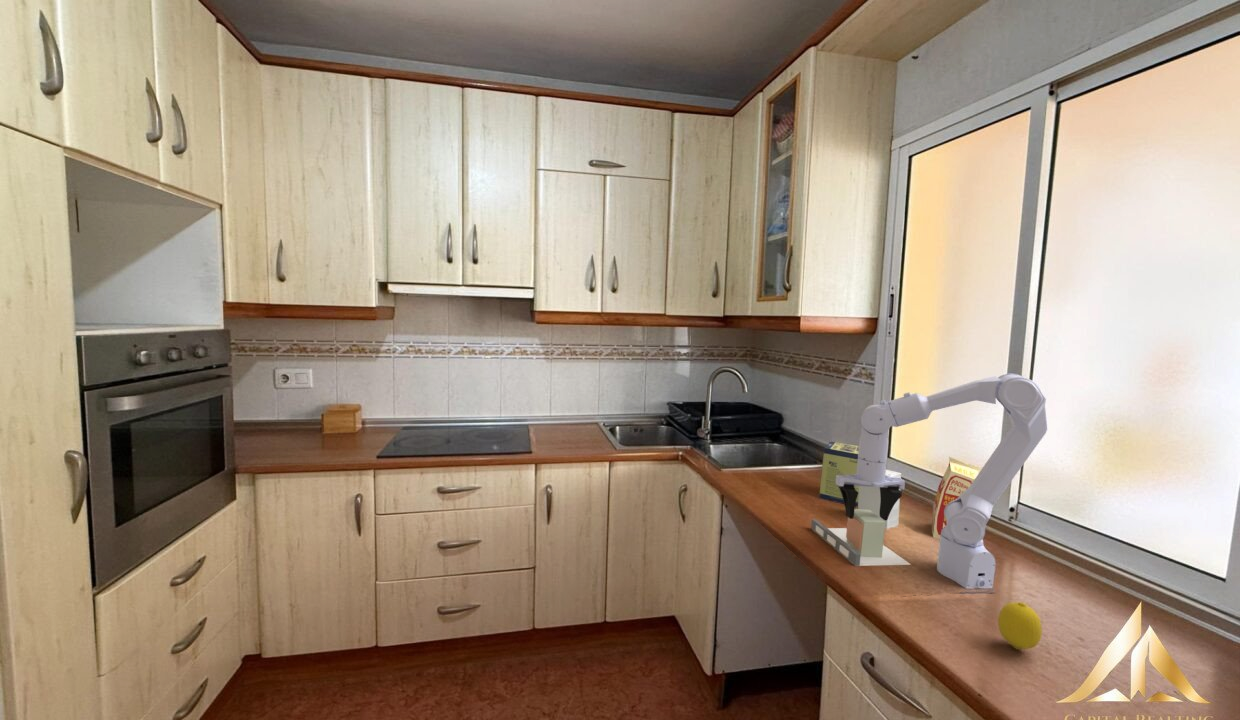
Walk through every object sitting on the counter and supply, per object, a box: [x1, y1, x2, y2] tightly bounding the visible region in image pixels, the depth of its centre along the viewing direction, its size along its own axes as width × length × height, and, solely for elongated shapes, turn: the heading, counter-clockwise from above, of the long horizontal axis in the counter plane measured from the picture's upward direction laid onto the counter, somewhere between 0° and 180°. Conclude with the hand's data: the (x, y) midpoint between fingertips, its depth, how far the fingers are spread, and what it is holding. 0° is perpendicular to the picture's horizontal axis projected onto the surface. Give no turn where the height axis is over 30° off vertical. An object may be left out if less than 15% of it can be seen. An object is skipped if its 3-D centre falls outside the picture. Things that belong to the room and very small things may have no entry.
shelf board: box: [810, 518, 912, 567], centre depth 114 cm, size 18×13×4 cm
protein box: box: [818, 441, 859, 508], centre depth 146 cm, size 10×16×16 cm
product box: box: [846, 508, 886, 558], centre depth 111 cm, size 5×7×8 cm
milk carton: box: [931, 456, 984, 540], centre depth 124 cm, size 9×9×20 cm
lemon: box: [997, 601, 1043, 650], centre depth 81 cm, size 6×6×8 cm
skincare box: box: [857, 469, 902, 530], centre depth 128 cm, size 8×6×15 cm
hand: (866, 517), depth 111 cm, fingers open, 7 cm apart
